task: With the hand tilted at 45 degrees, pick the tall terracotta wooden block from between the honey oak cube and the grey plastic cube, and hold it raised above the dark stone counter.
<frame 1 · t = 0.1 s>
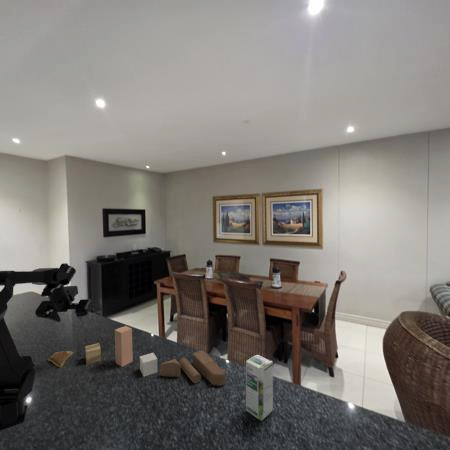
hand: (71, 321, 101), 15 cm above the kitchen counter, tool tilted 35°, fingers open, 9 cm apart
wooden block set: (192, 380, 86), on the kitchen counter
syrup box: (259, 411, 72), on the kitchen counter
shard: (63, 360, 100), on the kitchen counter
terracotta block: (124, 362, 97), on the kitchen counter
grey plastic cube: (148, 371, 91), on the kitchen counter
honey oak cube: (93, 359, 99), on the kitchen counter
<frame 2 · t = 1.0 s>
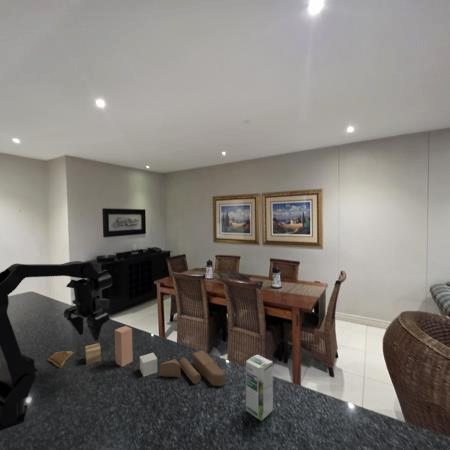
hand: (88, 337, 90), 13 cm above the kitchen counter, tool pointing down, fingers open, 9 cm apart
nothing on the kitchen counter moved.
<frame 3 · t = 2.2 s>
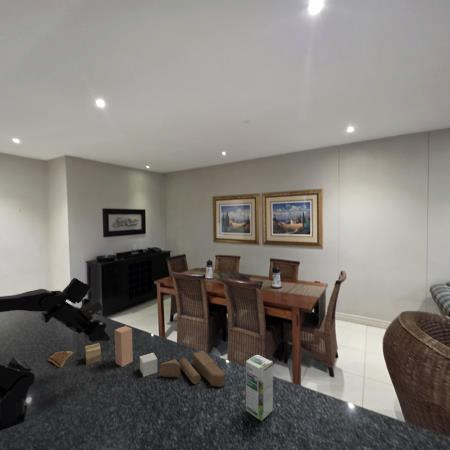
hand: (102, 335, 90), 13 cm above the kitchen counter, tool tilted 45°, fingers open, 9 cm apart
nothing on the kitchen counter moved.
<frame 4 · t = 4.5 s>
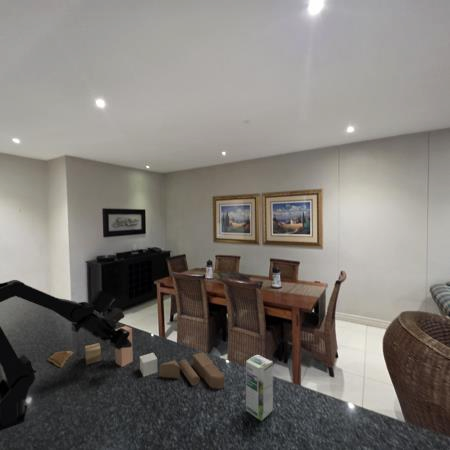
hand: (124, 342, 97), 8 cm above the kitchen counter, tool tilted 45°, fingers open, 9 cm apart
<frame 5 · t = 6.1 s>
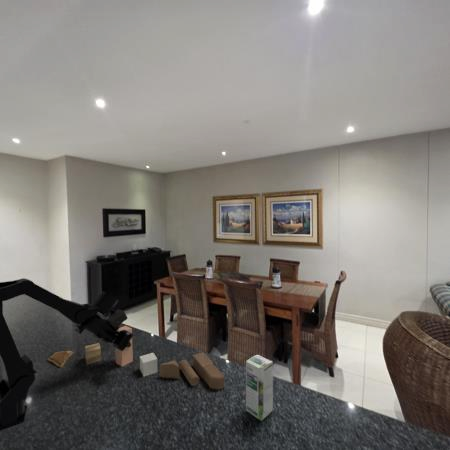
hand: (127, 343, 98), 7 cm above the kitchen counter, tool tilted 45°, fingers closed on terracotta block, 4 cm apart
terracotta block: (124, 362, 97), on the kitchen counter, touching gripper
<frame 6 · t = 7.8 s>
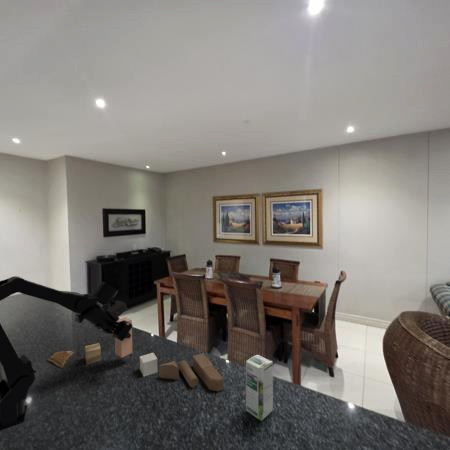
hand: (126, 335, 98), 10 cm above the kitchen counter, tool tilted 45°, fingers closed on terracotta block, 4 cm apart
terracotta block: (123, 353, 97), point 3 cm above the kitchen counter, touching gripper
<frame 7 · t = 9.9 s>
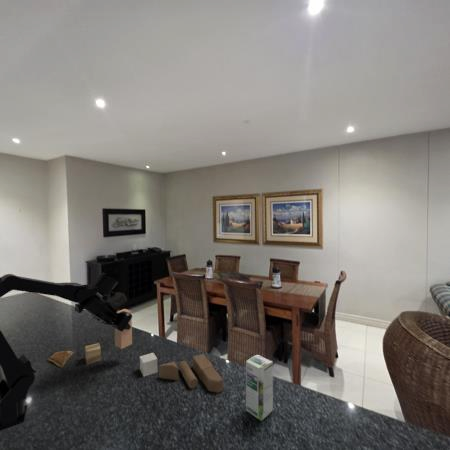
hand: (126, 326, 98), 13 cm above the kitchen counter, tool tilted 45°, fingers closed on terracotta block, 4 cm apart
terracotta block: (123, 344, 97), point 7 cm above the kitchen counter, touching gripper
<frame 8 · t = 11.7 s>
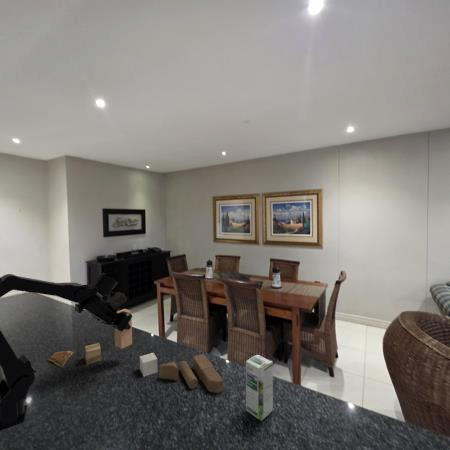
hand: (126, 326, 98), 13 cm above the kitchen counter, tool tilted 45°, fingers closed on terracotta block, 4 cm apart
terracotta block: (123, 344, 97), point 7 cm above the kitchen counter, touching gripper
at the end: the gripper is holding terracotta block; terracotta block point 6.9 cm above the kitchen counter; grey plastic cube moved 0.1 cm from its start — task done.
